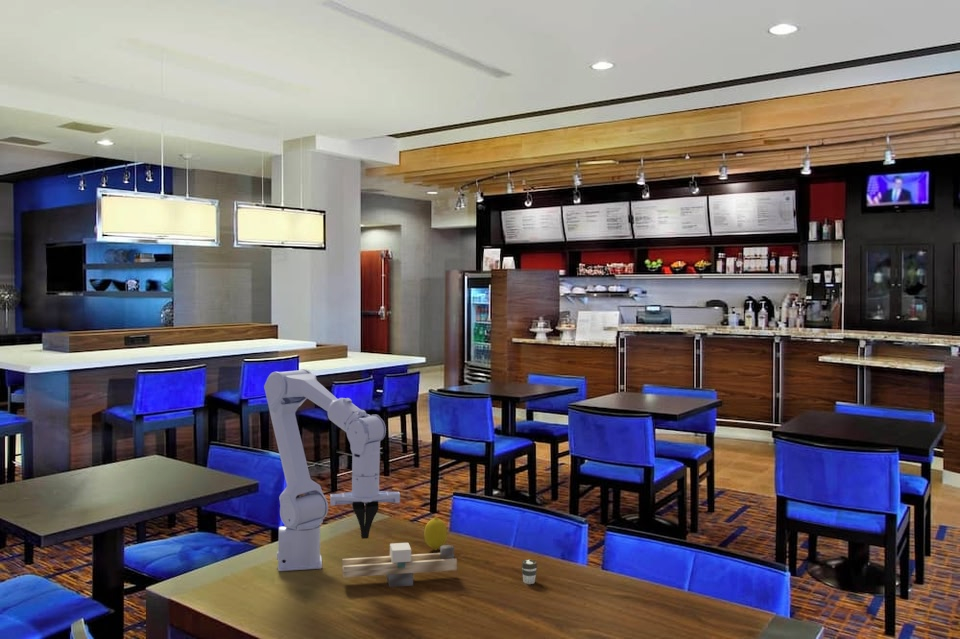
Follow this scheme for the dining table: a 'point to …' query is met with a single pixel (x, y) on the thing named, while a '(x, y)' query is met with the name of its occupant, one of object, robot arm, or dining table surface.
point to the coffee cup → (529, 571)
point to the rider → (400, 552)
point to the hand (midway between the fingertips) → (364, 537)
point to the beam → (400, 566)
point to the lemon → (435, 533)
